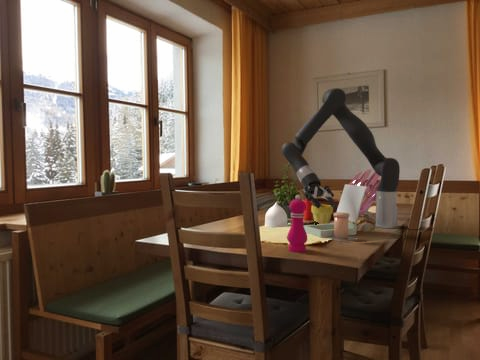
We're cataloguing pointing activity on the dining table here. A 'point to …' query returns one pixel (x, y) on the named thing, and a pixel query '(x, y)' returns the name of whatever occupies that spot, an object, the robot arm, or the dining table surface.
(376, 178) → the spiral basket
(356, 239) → the slate coaster
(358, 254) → the dining table surface
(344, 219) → the terracotta pot
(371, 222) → the chocolate bunny
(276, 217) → the teardrop
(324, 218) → the plant pot
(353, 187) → the cold frame
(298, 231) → the pepper mill
